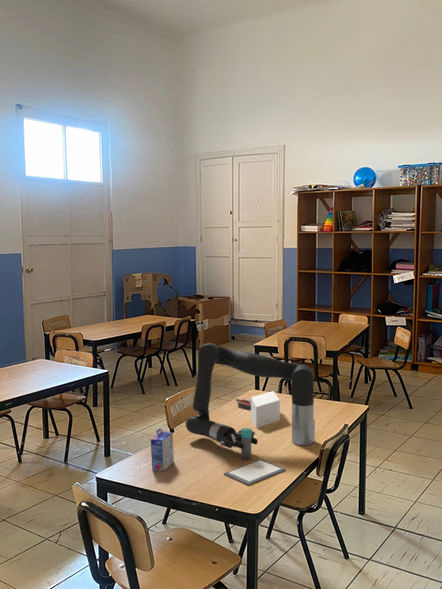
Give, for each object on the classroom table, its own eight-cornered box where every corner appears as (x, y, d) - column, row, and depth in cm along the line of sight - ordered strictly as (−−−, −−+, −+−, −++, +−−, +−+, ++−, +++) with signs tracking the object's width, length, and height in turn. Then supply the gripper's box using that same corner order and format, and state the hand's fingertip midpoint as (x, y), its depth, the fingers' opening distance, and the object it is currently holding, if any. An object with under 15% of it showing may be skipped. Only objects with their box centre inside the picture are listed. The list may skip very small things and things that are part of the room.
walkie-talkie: (266, 408, 300) (237, 401, 313) (266, 400, 299) (237, 393, 313) (256, 412, 293) (226, 405, 307) (256, 404, 293) (226, 397, 306)
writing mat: (261, 460, 230) (261, 458, 230) (285, 470, 221) (285, 468, 220) (224, 474, 217) (224, 472, 217) (248, 485, 207) (248, 483, 207)
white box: (287, 412, 293) (287, 392, 292) (271, 430, 266) (271, 408, 265) (259, 409, 298) (259, 389, 297) (241, 426, 272) (241, 405, 270)
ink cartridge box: (161, 460, 231) (160, 425, 230) (174, 461, 230) (173, 426, 228) (150, 469, 222) (149, 433, 221) (163, 471, 220) (163, 434, 219)
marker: (246, 455, 235) (246, 427, 234) (253, 458, 232) (253, 429, 231) (238, 458, 233) (238, 429, 231) (246, 461, 229) (246, 432, 228)
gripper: (209, 428, 237) (237, 439, 225) (234, 421, 247) (262, 430, 234) (209, 446, 238) (237, 458, 226) (235, 438, 247) (262, 448, 235)
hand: (250, 444), depth 230 cm, fingers open, 7 cm apart
